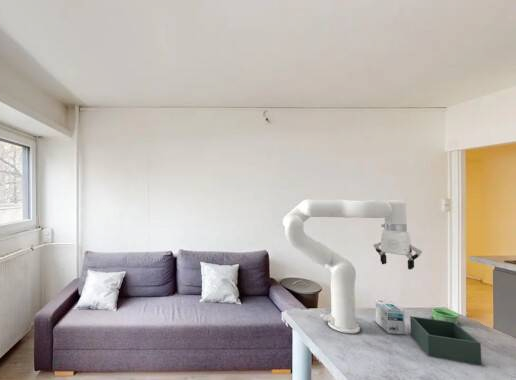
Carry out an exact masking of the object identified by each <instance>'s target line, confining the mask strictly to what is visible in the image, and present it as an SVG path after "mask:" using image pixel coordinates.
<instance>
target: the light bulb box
mask: <svg viewBox="0 0 516 380" xmlns="http://www.w3.org/2000/svg"><path fill="white" fill-rule="evenodd" d="M374 303H375V304H374V305H375V322H376V324H378V325H379V326H380V327H381V328H382V329H383V330H384V331H386V333H388V334H393V335H394V334H395V335H406V328H405V327H406V325H405V310H404V309H403V308H401V307H400V306H399V305H397V304H396V303H394V302H393V301H391V300H383V299H375V300H374Z"/></svg>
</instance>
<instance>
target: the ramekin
mask: <svg viewBox="0 0 516 380" xmlns="http://www.w3.org/2000/svg"><path fill="white" fill-rule="evenodd" d="M431 311H432V316H433V318H432V319H435V320H443V321H450V322H455V323H456V324H458V321H459V317H460V315H459V314H458V313H457V312H456V311H453V310H450V309H447V308H441V307H434V308H431Z"/></svg>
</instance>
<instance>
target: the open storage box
mask: <svg viewBox="0 0 516 380" xmlns="http://www.w3.org/2000/svg"><path fill="white" fill-rule="evenodd" d="M409 321H410V324H409V325H410V335H411V336H412V338H413V339H414V340H415V342H416V343H418V345H419V346H420V347H421V348H422V350H423V351H424V352H425V353H426V354H427V356H428V357H433V358H438V359H443V360H444V359H445V360H450V361H455V362H461V363H467V364H473V365H479V366H482V343H481V342H479V340H477V339H476V338H475V337H474V336H472V335H471V334H470V333H469V332H467V330H465V329H464V328H463V327H462V326H460V325H459V324H458V323H457V324H456V323H455V322H450V321H443V320H435V319H434V318H427V317H419V316H412V315H411V316H409Z"/></svg>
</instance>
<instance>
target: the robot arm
mask: <svg viewBox="0 0 516 380" xmlns="http://www.w3.org/2000/svg"><path fill="white" fill-rule="evenodd" d="M310 218H344V219H345V218H359V219H362V218H363V219H384V223H382V224H381V226H380V227H381V228H384V229H382V232H381V236H380V237H381V238H380V242H378V243H374V244H373V247H374V249H375V251H376V252H377V253H378V255H379V256H380V262H381V265H386V264H388V262H387V254H393V255H399V256H405V257H407V270H409V271H410V270H414V268H415V260H416V259H418V258H419V257H420V256H421V254H422V253H423V251H422V250H421V249H420V248H417V247H415V246H414V245H412V239H411V234H410V232H409V231H408V229H407V228H408V226H407V203H406V201H405V200H401V199H387V200H383V199H382V200H380V199H370V200H369V199H368V200H353V199H345V198H344V199H343V198H319V199H318V198H314V199H313V198H306V199H304V200H302V201H301V202H299V204H297V205H296V206H295V207H294V208H292V209H291V210H290V211H289V212H288V213H287V214H286V215H284V217H283V219H282V225H283V227H284V234H285V238H286V240H287V242H288V243H289V244H290V245H291V247H293V248H294V249H296V250H297V251H298V252H300V253H301V254H302V255H304V256H305V257H307V258H309V259H310V260H311V261H312V262H314V263H315V264H317V265H319V266H321V267H323V268H325V269H326V270H327V271H329V272H330V275H331V277H330V308H331V309H330V310H331V312H329V314H324V313H320V316H319V317H320V319H323V321H325V322H327V324H328V326H329V327H330V328H331V329H333V330H334V331H336V332H337V331H338V332H340V333H343V334H357V333H359V332H360V331H361V326H360V325H359V324H358V323H356V320H357V319H356V293H355V292H356V291H355V290H356V289H355V288H356V287H355V285H356V276H357V272H356V268H355V266H354V265H353V263H352V262H351V261H350V260H349V259H347V258H345V257H344V256H343V255H340V254H339V253H338V252H336V251H335V250H333V249H331V248H330V247H328V246H327V245H326V244H324V243H322V242H320V241H317V240H315V239H313V238H312V237H311V236H310V235H307V234H306V233H305V231H304V225H305V224H304V223H305V222H306V221H308V220H310ZM413 251H414V252H415V254H412V253H413Z"/></svg>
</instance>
